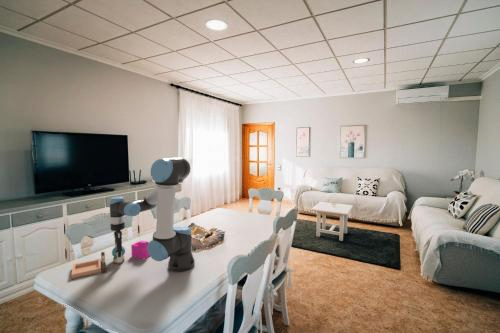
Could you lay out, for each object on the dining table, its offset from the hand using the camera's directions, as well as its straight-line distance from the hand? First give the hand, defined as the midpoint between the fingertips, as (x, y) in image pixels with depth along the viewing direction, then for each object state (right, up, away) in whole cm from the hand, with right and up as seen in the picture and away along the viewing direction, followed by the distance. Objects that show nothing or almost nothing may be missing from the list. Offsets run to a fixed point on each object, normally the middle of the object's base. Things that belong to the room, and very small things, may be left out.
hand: (118, 257), depth 147 cm
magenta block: (+11, -2, +12) cm, 16 cm away
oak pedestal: (0, -3, 0) cm, 3 cm away
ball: (0, +4, 0) cm, 4 cm away
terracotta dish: (-12, -3, -10) cm, 16 cm away
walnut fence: (-6, -3, -5) cm, 8 cm away
